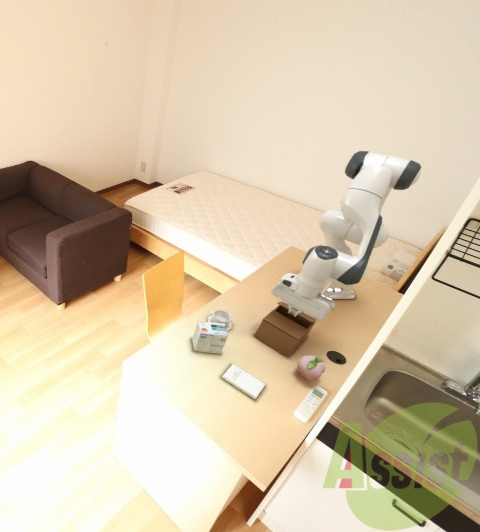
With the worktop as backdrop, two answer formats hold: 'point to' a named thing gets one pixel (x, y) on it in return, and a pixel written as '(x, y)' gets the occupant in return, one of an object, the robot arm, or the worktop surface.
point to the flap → (299, 313)
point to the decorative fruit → (311, 367)
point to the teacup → (221, 318)
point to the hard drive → (244, 381)
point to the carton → (287, 323)
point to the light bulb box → (209, 337)
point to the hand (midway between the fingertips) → (292, 314)
